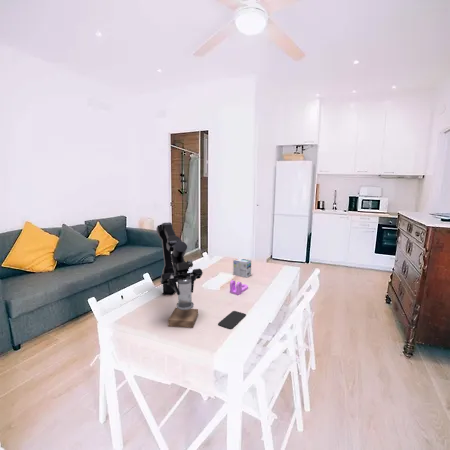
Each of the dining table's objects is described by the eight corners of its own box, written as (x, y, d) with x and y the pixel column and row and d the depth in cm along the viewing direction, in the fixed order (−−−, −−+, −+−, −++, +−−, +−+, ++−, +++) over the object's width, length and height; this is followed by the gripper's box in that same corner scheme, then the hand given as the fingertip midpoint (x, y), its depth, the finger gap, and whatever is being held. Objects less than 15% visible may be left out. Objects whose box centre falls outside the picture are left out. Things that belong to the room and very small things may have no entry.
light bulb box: (251, 275, 179) (251, 259, 177) (246, 278, 174) (247, 262, 172) (237, 272, 185) (237, 257, 183) (232, 274, 179) (232, 259, 177)
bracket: (238, 295, 148) (238, 283, 147) (229, 292, 151) (229, 281, 150) (249, 287, 158) (249, 276, 157) (241, 285, 161) (241, 274, 160)
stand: (168, 326, 116) (168, 319, 116) (175, 313, 127) (175, 307, 126) (193, 327, 115) (192, 321, 114) (198, 315, 126) (198, 309, 125)
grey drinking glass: (173, 307, 118) (172, 280, 116) (183, 301, 125) (182, 274, 123) (187, 311, 115) (186, 283, 113) (196, 304, 122) (196, 277, 120)
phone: (247, 314, 126) (231, 328, 113) (247, 315, 126) (231, 330, 113) (233, 310, 130) (216, 323, 117) (233, 311, 130) (216, 325, 117)
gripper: (160, 256, 116) (166, 289, 108) (201, 251, 123) (209, 282, 115) (158, 268, 124) (163, 300, 116) (196, 263, 132) (203, 292, 124)
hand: (185, 293), depth 118 cm, fingers closed on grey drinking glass, 6 cm apart
